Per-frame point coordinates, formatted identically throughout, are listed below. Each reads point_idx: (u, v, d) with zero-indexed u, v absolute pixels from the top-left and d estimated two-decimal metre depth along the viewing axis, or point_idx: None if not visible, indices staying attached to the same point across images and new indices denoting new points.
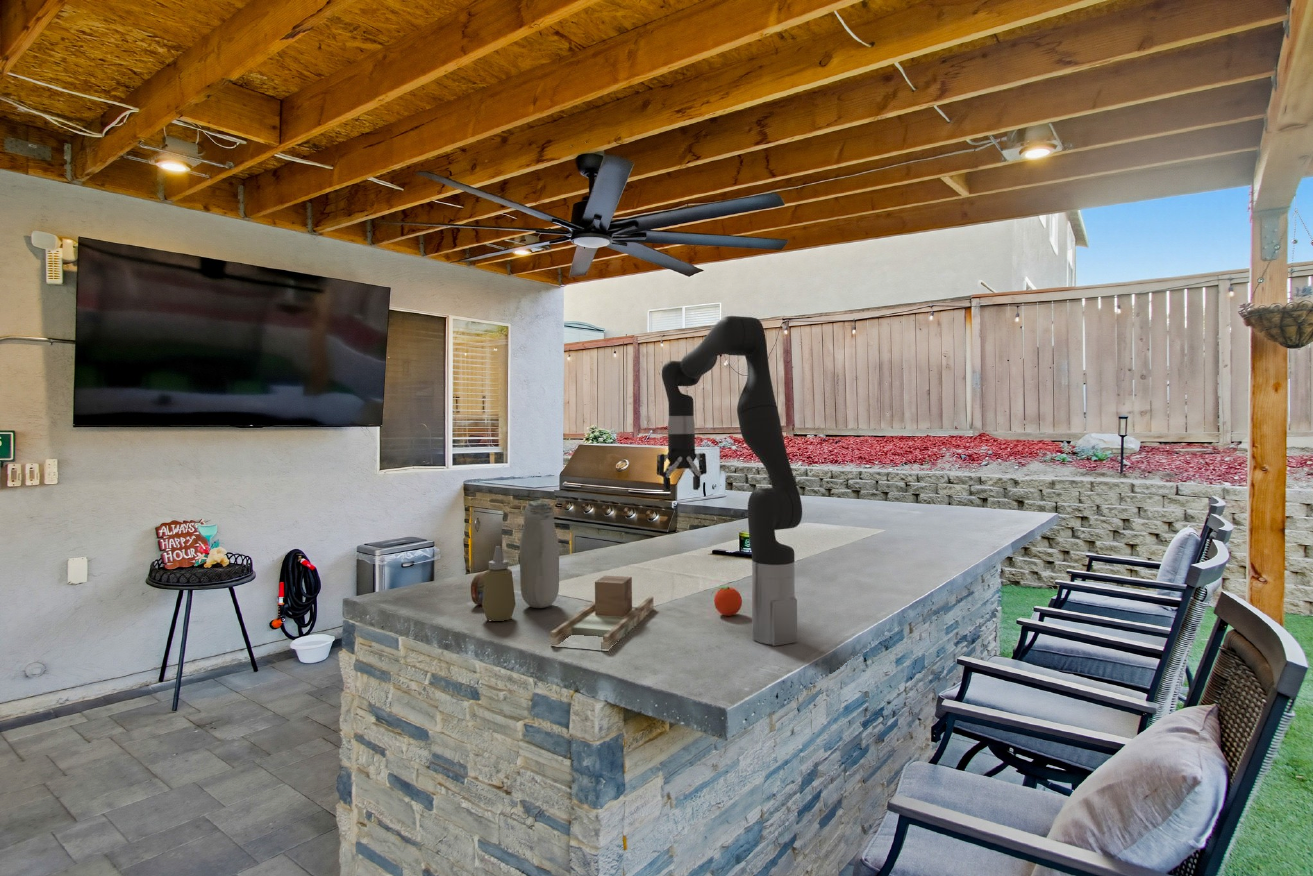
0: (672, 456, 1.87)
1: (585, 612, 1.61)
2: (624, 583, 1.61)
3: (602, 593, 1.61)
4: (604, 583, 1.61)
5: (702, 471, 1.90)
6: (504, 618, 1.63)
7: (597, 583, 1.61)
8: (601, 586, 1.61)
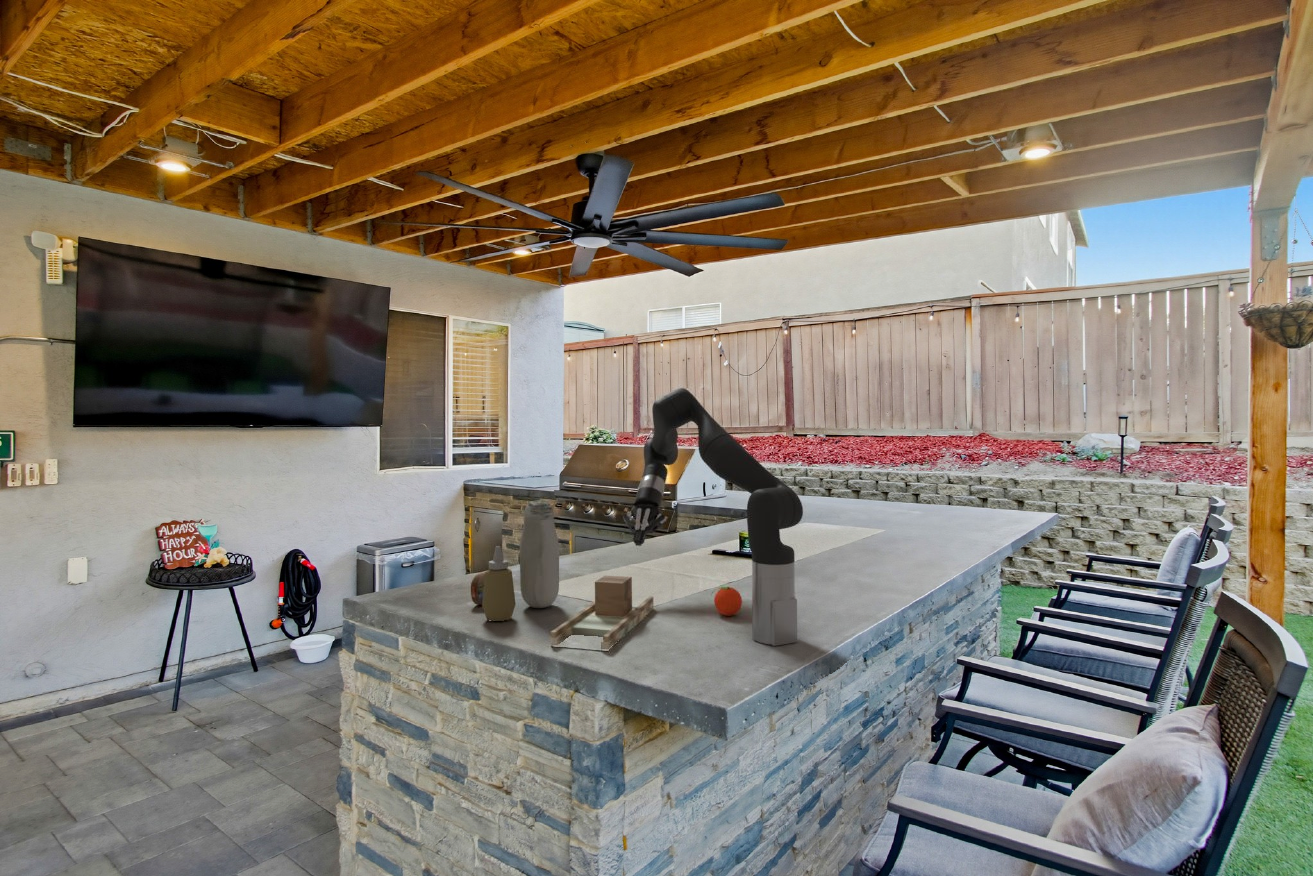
0: None
1: (585, 612, 1.61)
2: (624, 583, 1.61)
3: (602, 593, 1.61)
4: (604, 583, 1.61)
5: None
6: (504, 618, 1.63)
7: (597, 583, 1.61)
8: (601, 586, 1.61)
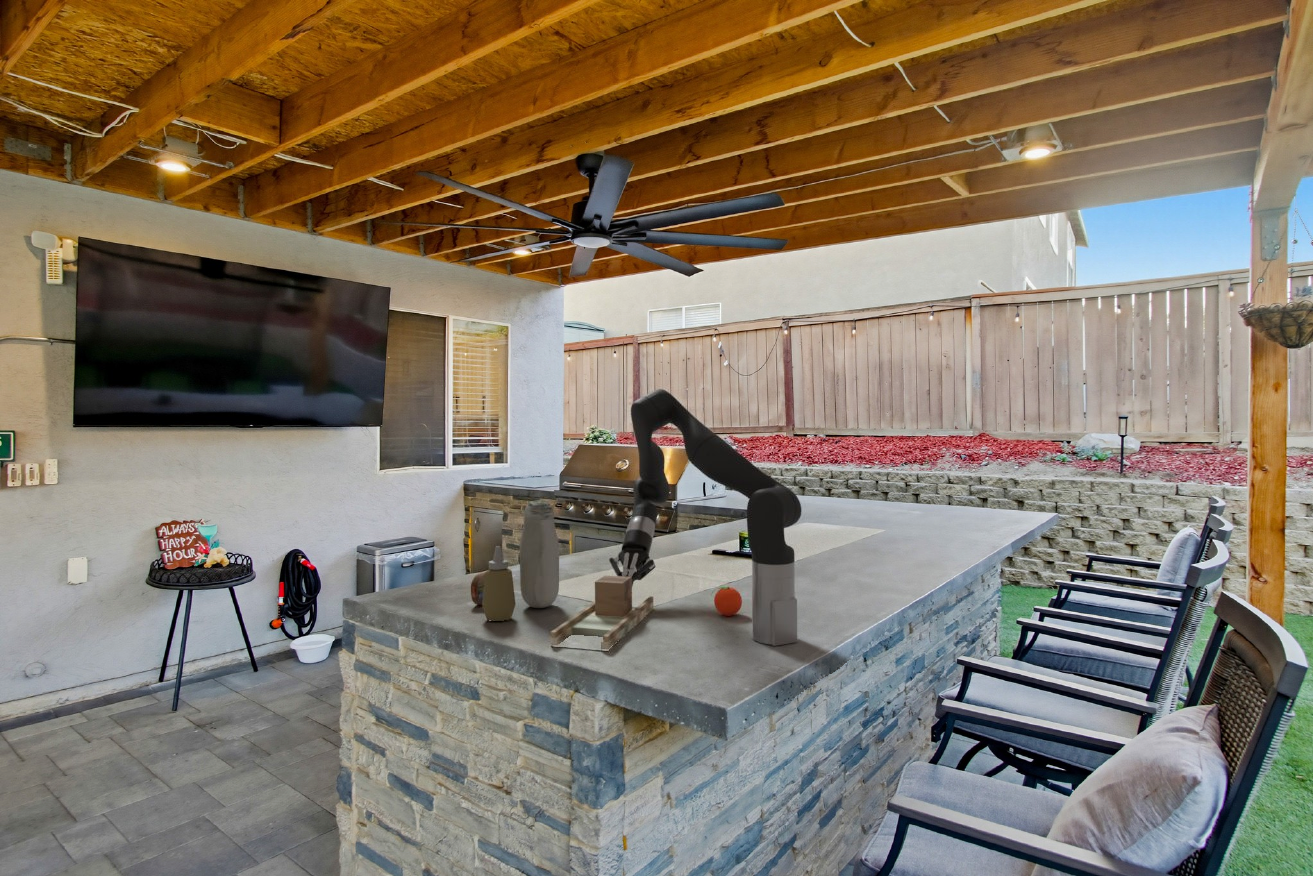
0: None
1: (585, 612, 1.61)
2: (624, 583, 1.61)
3: (602, 593, 1.61)
4: (604, 583, 1.61)
5: None
6: (504, 618, 1.63)
7: (597, 583, 1.61)
8: (601, 586, 1.61)
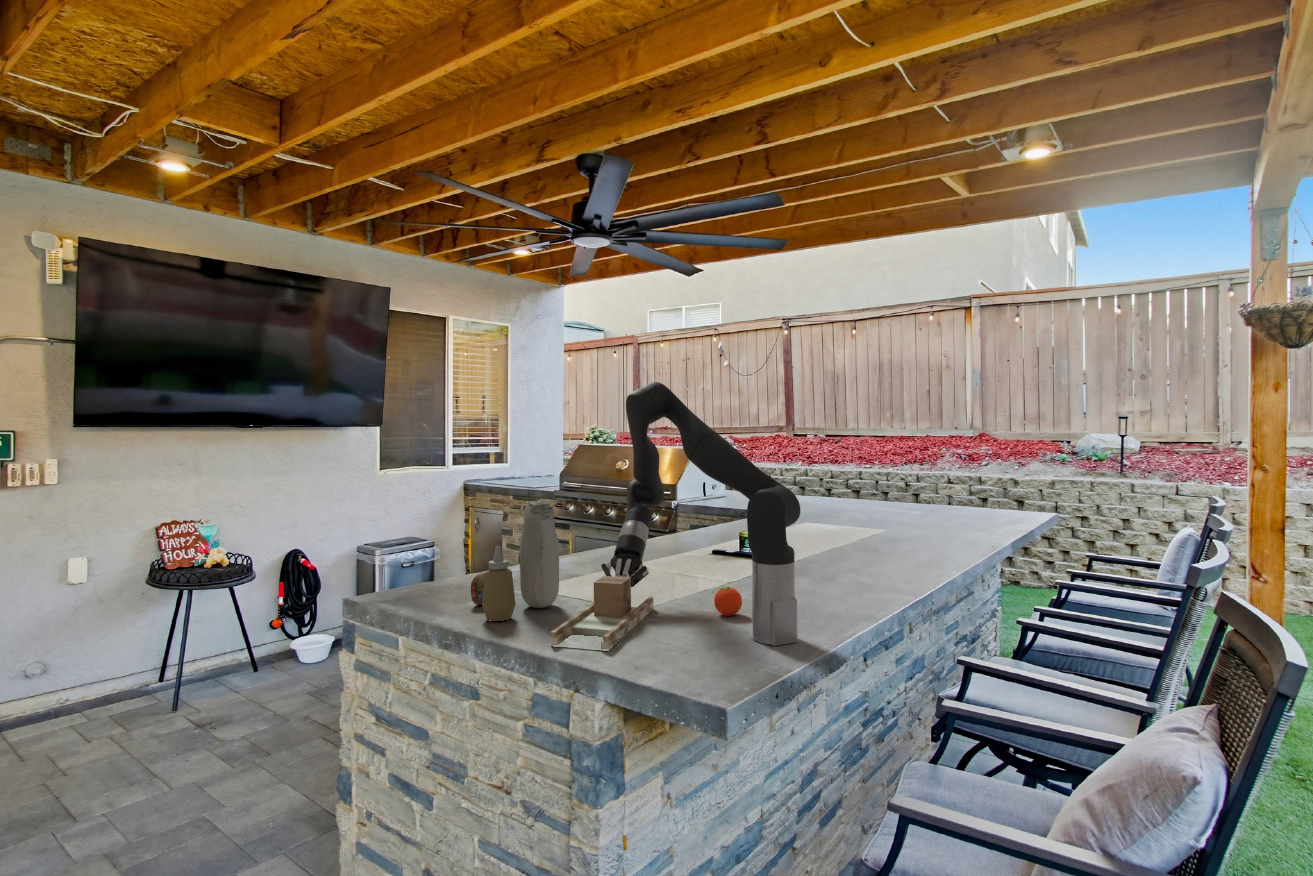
0: None
1: (585, 612, 1.61)
2: (623, 584, 1.60)
3: (601, 593, 1.60)
4: (603, 584, 1.60)
5: None
6: (504, 618, 1.63)
7: (596, 584, 1.61)
8: (600, 587, 1.60)
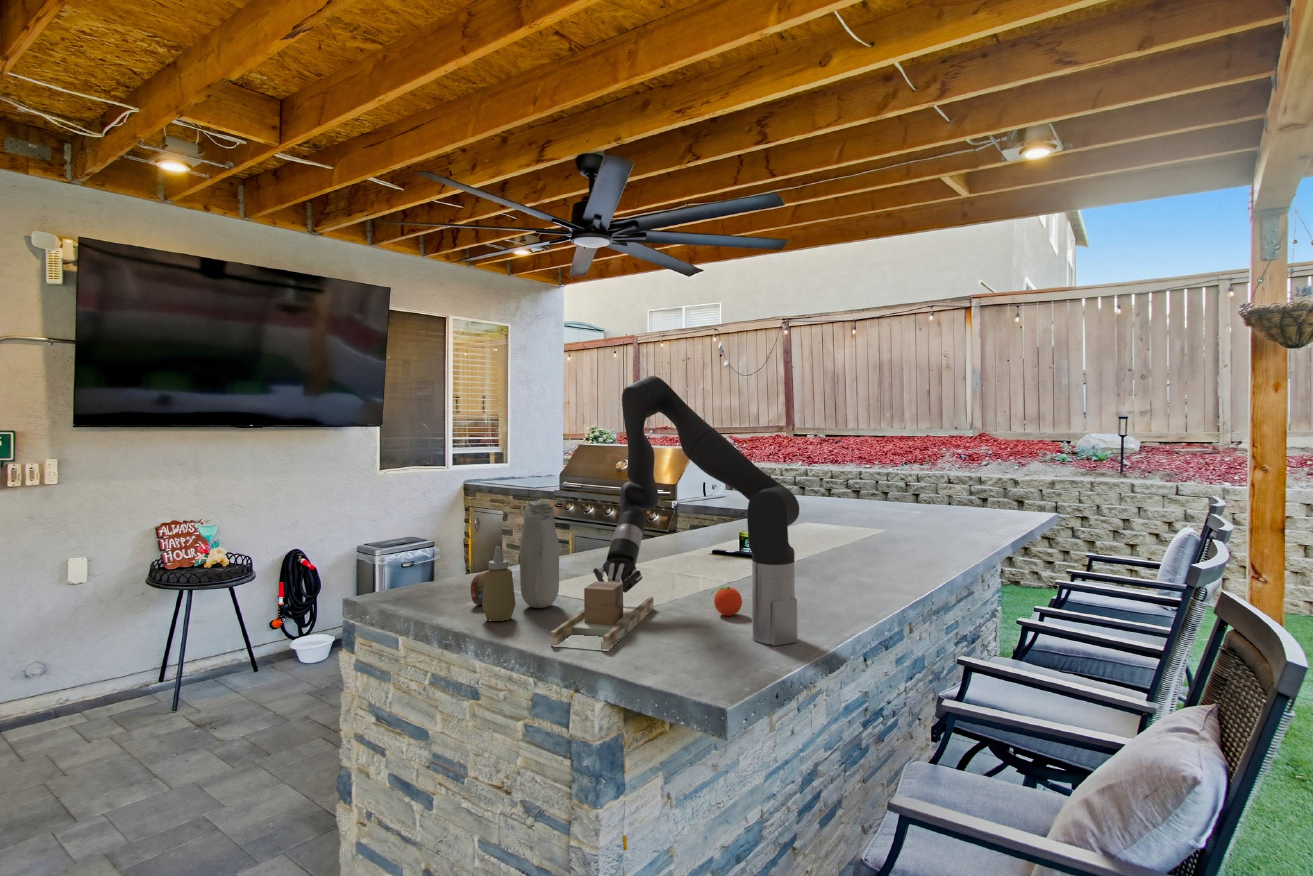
0: None
1: None
2: (614, 590, 1.55)
3: (592, 599, 1.55)
4: (594, 589, 1.55)
5: None
6: (504, 618, 1.63)
7: (586, 589, 1.55)
8: (591, 593, 1.55)
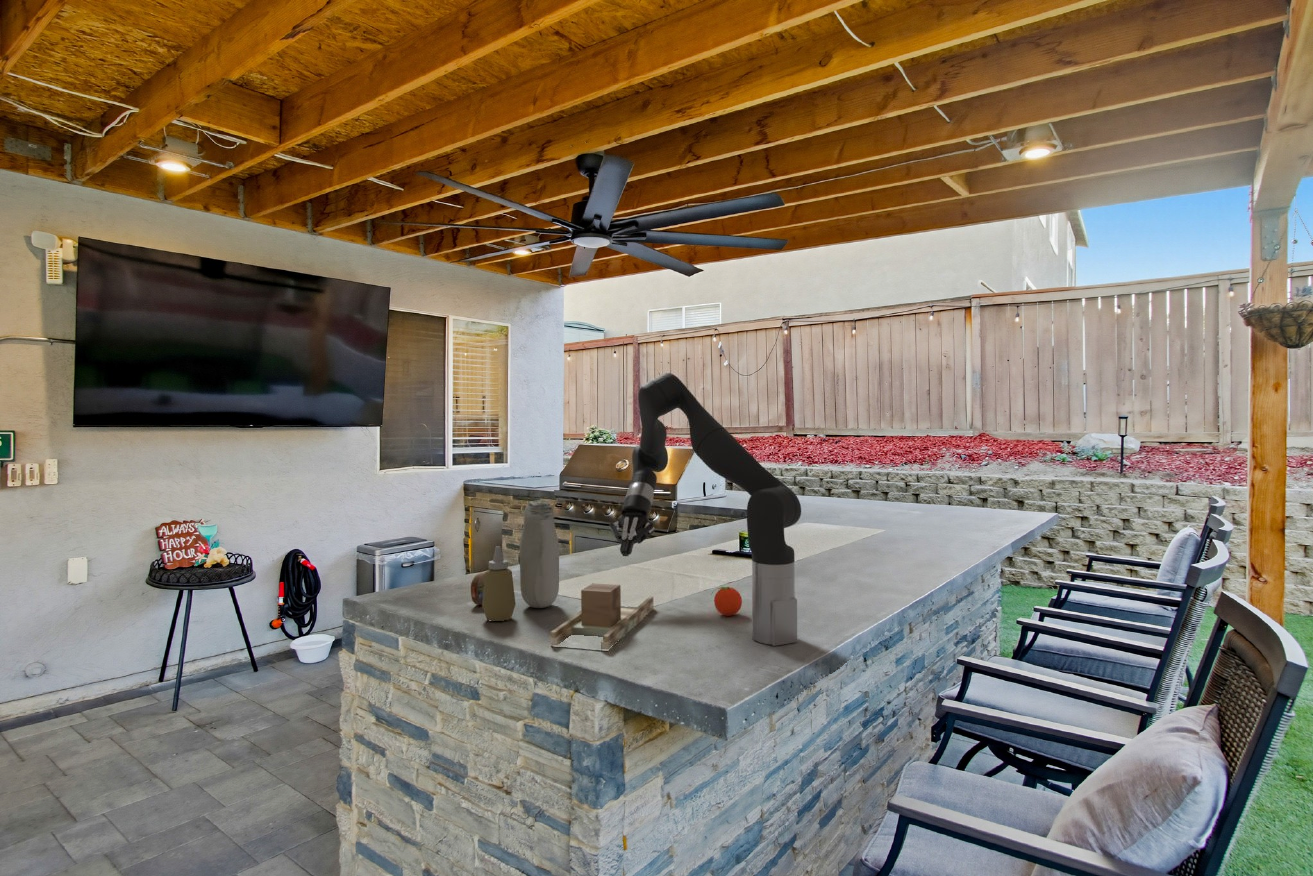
0: None
1: None
2: (612, 592, 1.53)
3: (589, 602, 1.53)
4: (591, 592, 1.53)
5: None
6: (504, 618, 1.63)
7: (583, 592, 1.53)
8: (588, 595, 1.53)
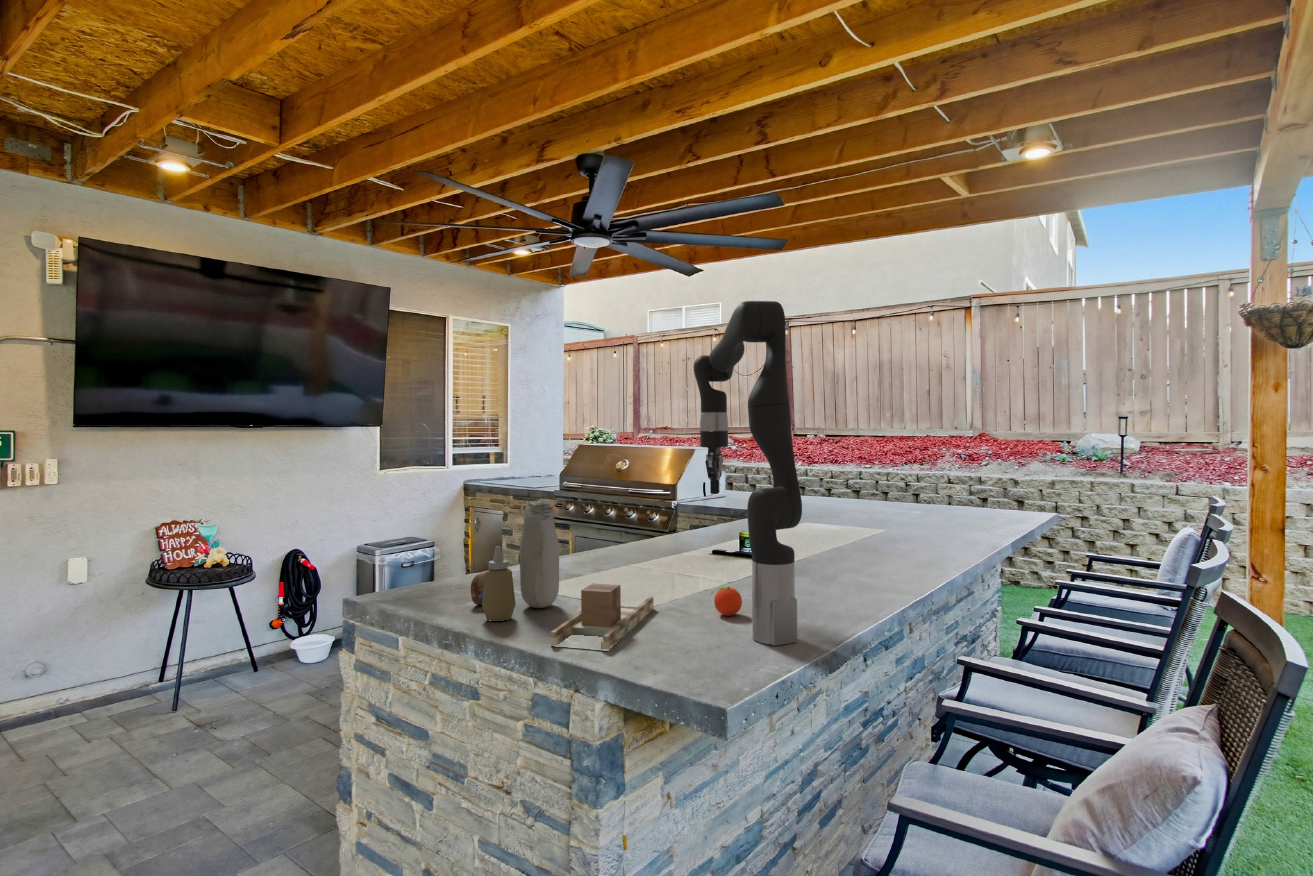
0: None
1: None
2: (612, 592, 1.53)
3: (589, 602, 1.53)
4: (591, 592, 1.53)
5: None
6: (504, 618, 1.63)
7: (583, 592, 1.53)
8: (588, 595, 1.53)
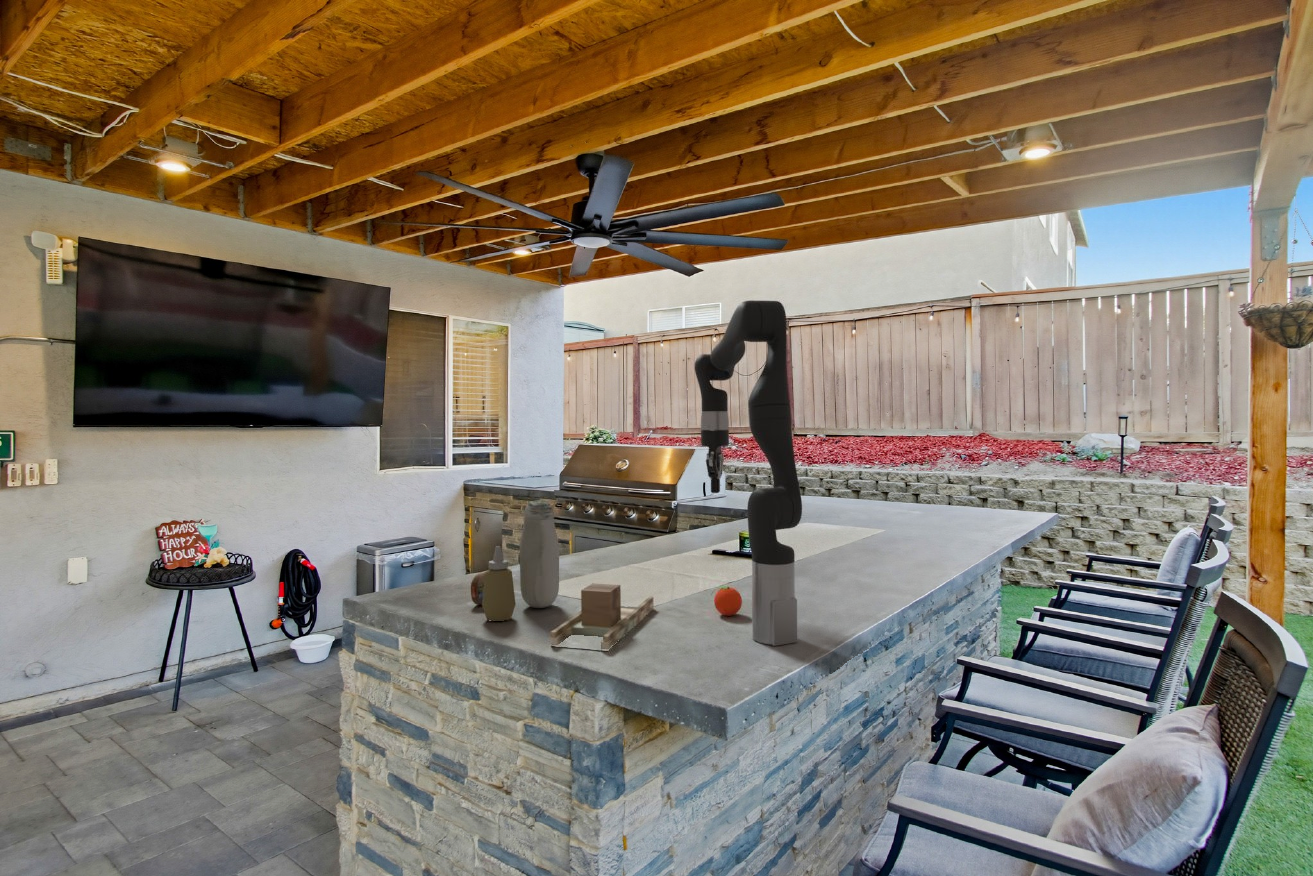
0: None
1: None
2: (612, 592, 1.53)
3: (589, 602, 1.53)
4: (591, 592, 1.53)
5: None
6: (504, 618, 1.63)
7: (583, 592, 1.53)
8: (588, 595, 1.53)
